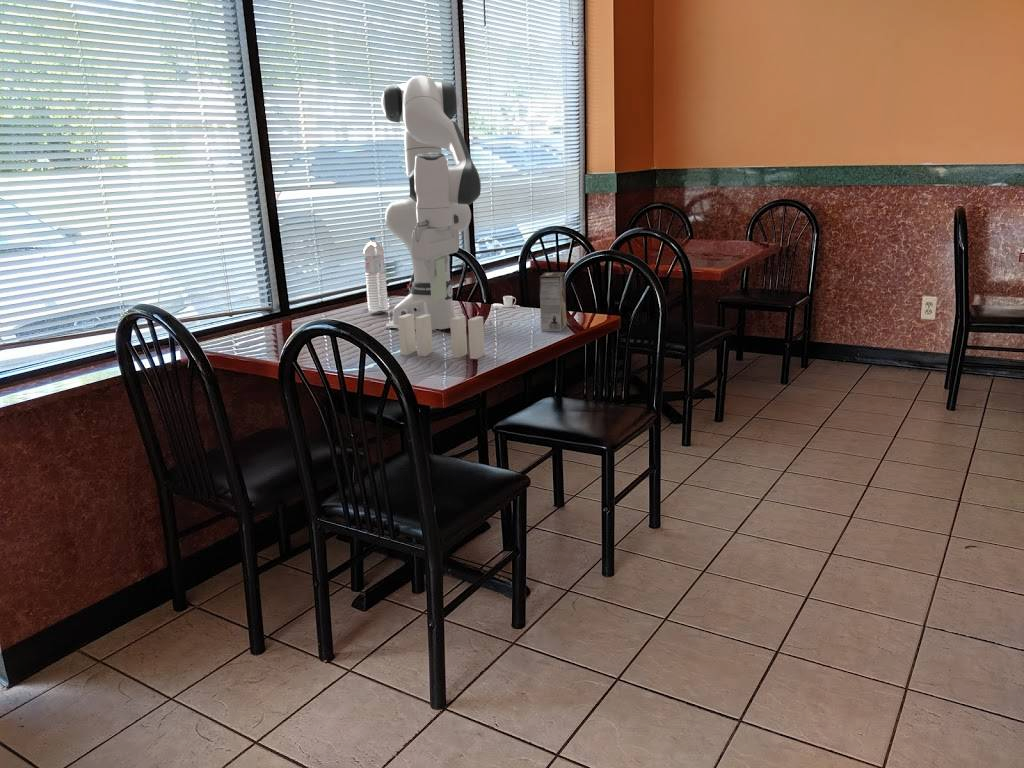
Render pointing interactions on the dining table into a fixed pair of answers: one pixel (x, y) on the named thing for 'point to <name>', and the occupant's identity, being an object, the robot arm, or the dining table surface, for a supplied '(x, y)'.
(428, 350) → the domino
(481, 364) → the dining table surface
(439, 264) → the domino
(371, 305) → the water bottle
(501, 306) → the teacup and saucer
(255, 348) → the dining table surface
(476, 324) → the domino
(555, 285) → the coffee box
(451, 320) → the domino
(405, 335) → the domino
